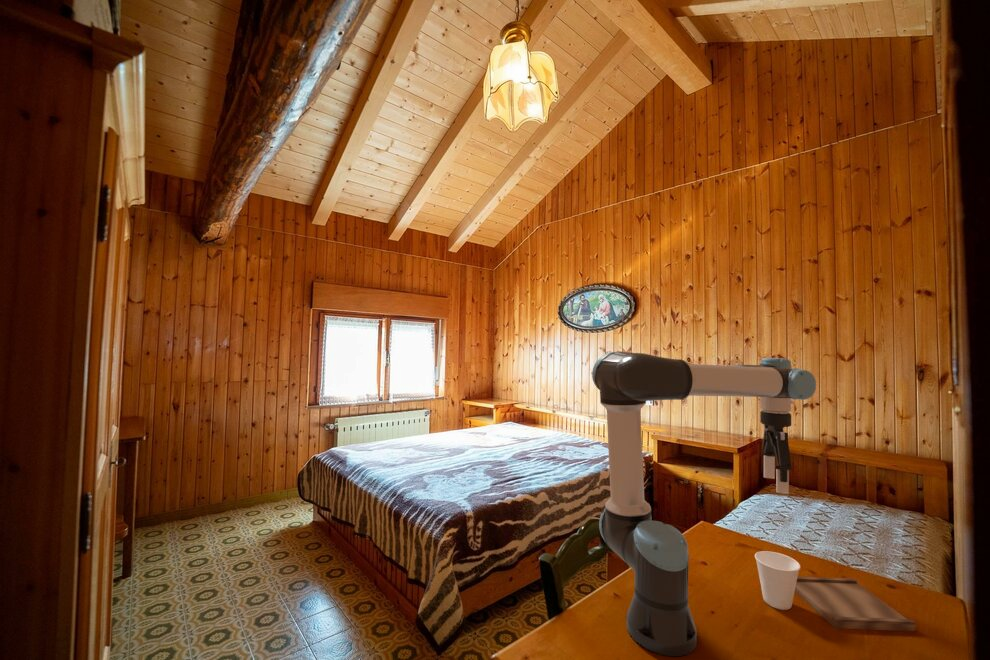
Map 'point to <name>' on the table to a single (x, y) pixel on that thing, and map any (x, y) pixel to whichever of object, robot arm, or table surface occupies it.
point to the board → (850, 605)
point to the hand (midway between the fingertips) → (775, 485)
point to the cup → (777, 578)
